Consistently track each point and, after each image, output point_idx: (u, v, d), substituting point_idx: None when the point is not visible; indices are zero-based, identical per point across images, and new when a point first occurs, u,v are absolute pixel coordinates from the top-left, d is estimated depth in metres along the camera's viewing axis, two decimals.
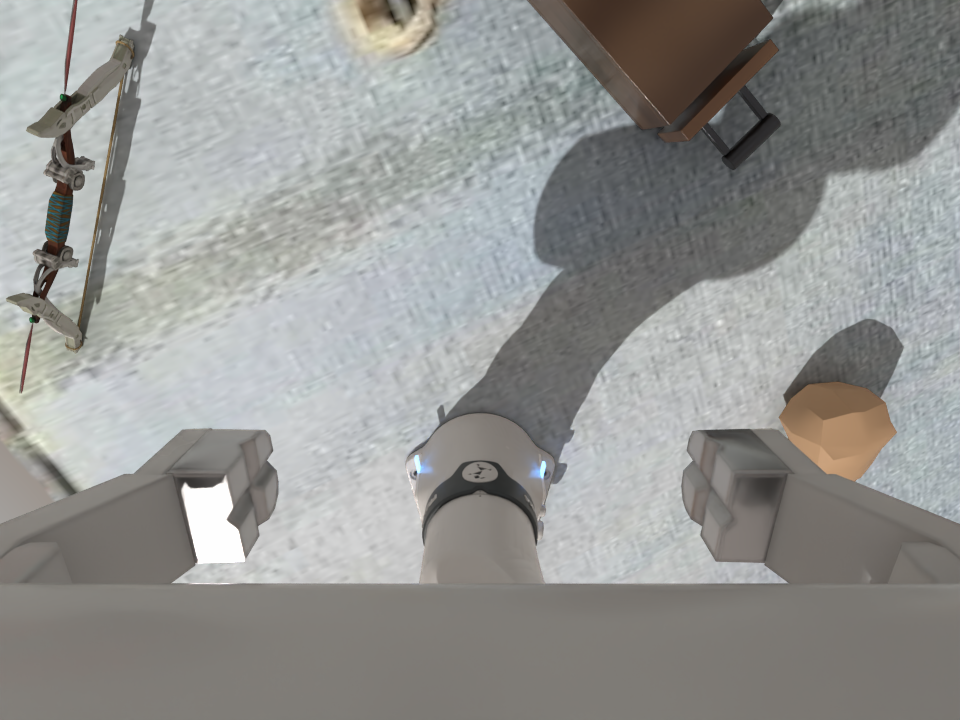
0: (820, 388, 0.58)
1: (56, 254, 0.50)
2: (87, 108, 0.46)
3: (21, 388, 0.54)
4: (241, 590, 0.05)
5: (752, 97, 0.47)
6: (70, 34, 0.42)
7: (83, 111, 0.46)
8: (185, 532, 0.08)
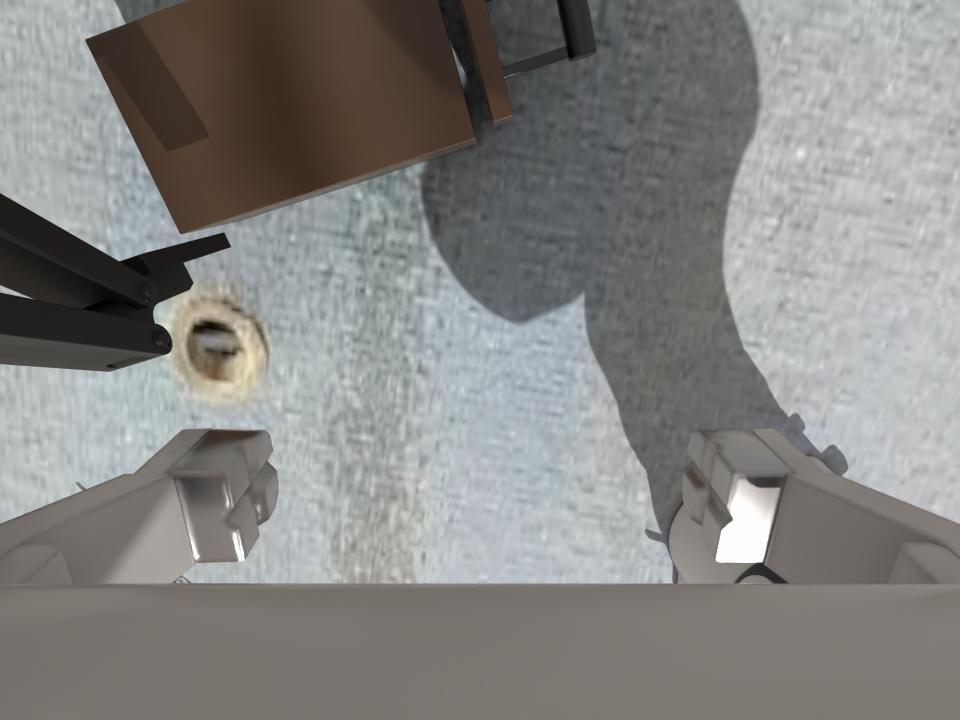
0: None
1: None
2: None
3: None
4: (241, 590, 0.05)
5: None
6: None
7: None
8: (185, 532, 0.08)
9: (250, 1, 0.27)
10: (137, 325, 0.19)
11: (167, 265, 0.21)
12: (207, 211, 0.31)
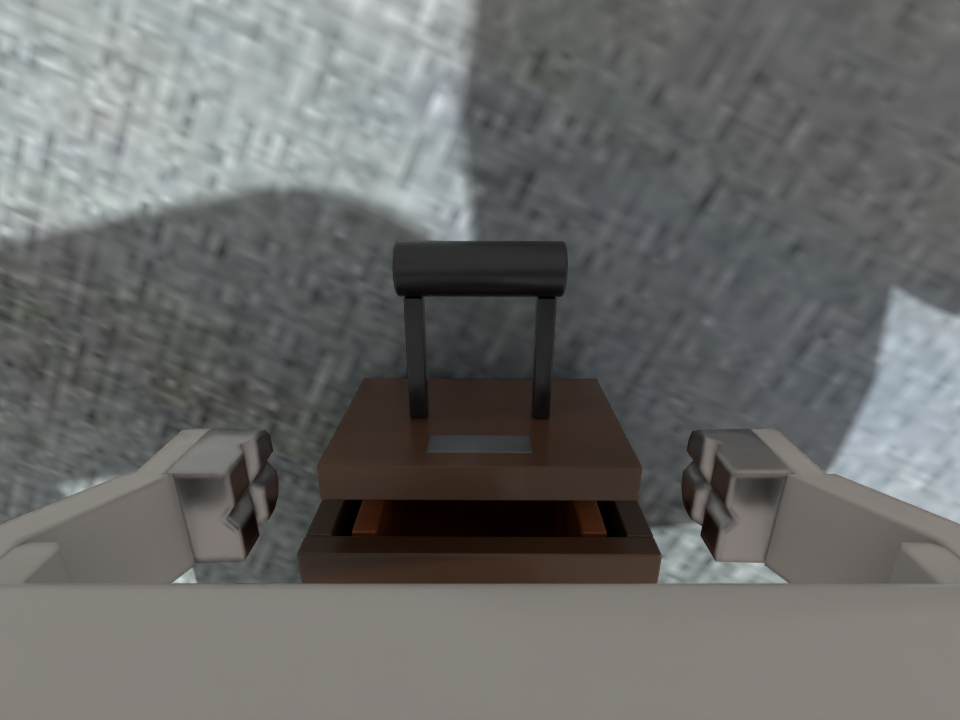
0: None
1: None
2: None
3: None
4: (241, 590, 0.05)
5: (411, 362, 0.17)
6: None
7: None
8: (185, 532, 0.08)
9: None
10: None
11: None
12: None
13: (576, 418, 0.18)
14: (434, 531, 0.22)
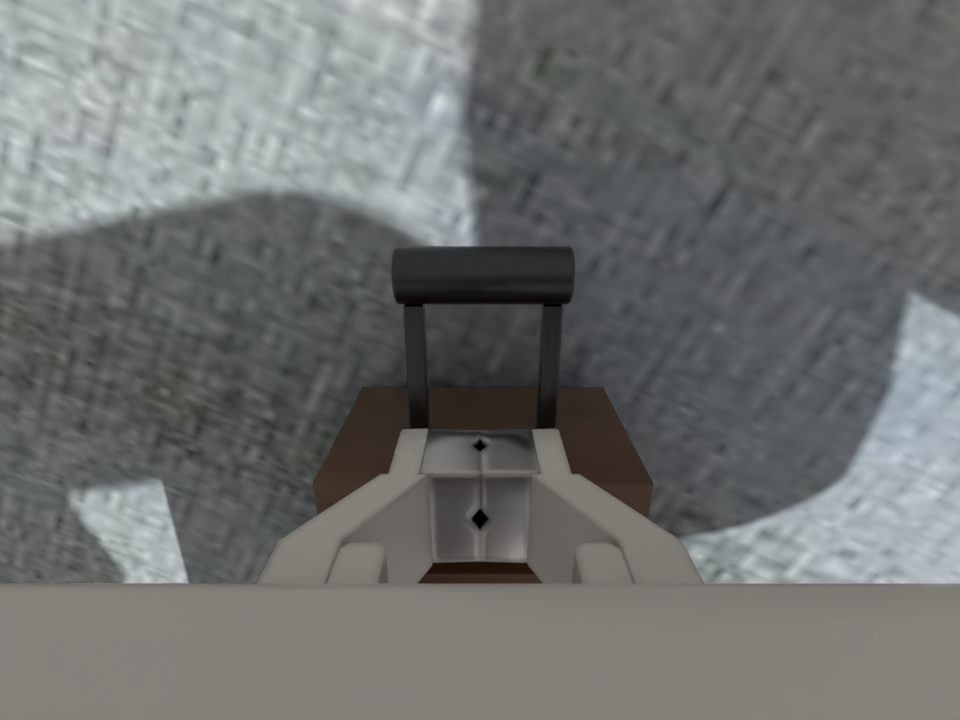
0: None
1: None
2: None
3: None
4: (241, 590, 0.05)
5: (411, 372, 0.16)
6: None
7: None
8: (430, 532, 0.08)
9: None
10: None
11: None
12: None
13: (584, 430, 0.17)
14: None
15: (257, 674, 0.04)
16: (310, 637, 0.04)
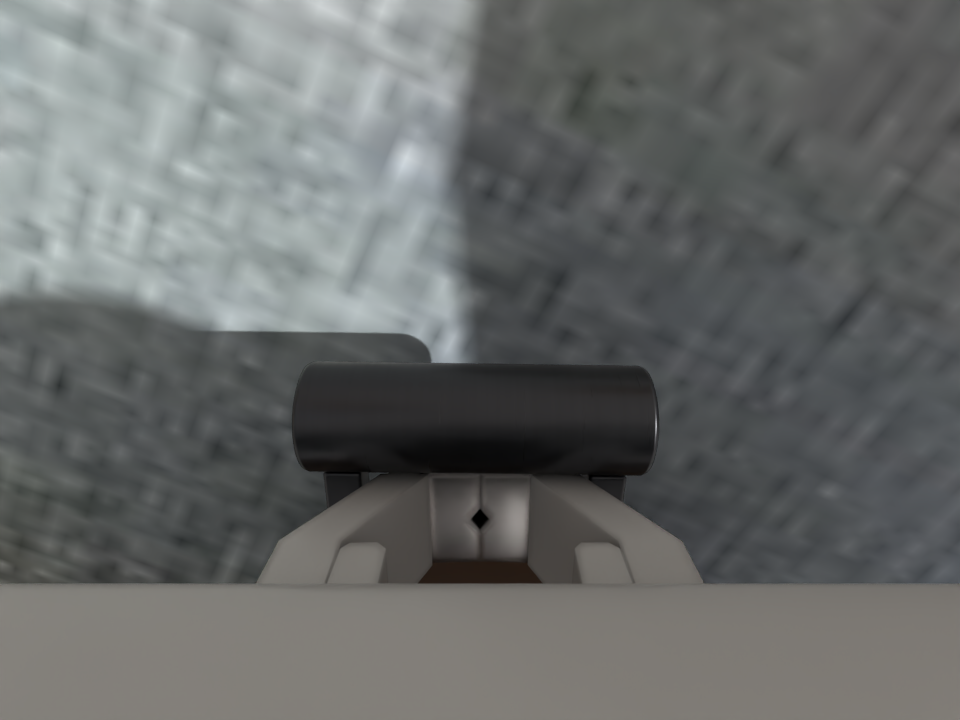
0: None
1: None
2: None
3: None
4: (241, 590, 0.05)
5: None
6: None
7: None
8: (430, 532, 0.08)
9: None
10: None
11: None
12: None
13: None
14: None
15: (257, 674, 0.04)
16: (310, 637, 0.04)
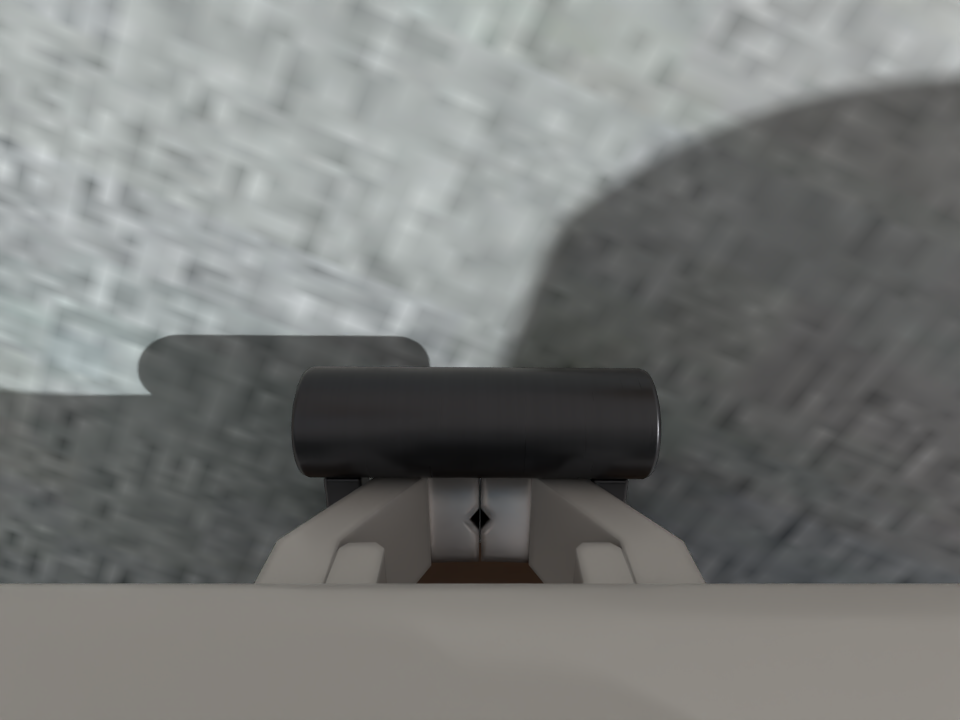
0: None
1: None
2: None
3: None
4: (241, 590, 0.05)
5: None
6: None
7: None
8: (429, 532, 0.08)
9: None
10: None
11: None
12: None
13: None
14: None
15: (257, 674, 0.04)
16: (310, 637, 0.04)
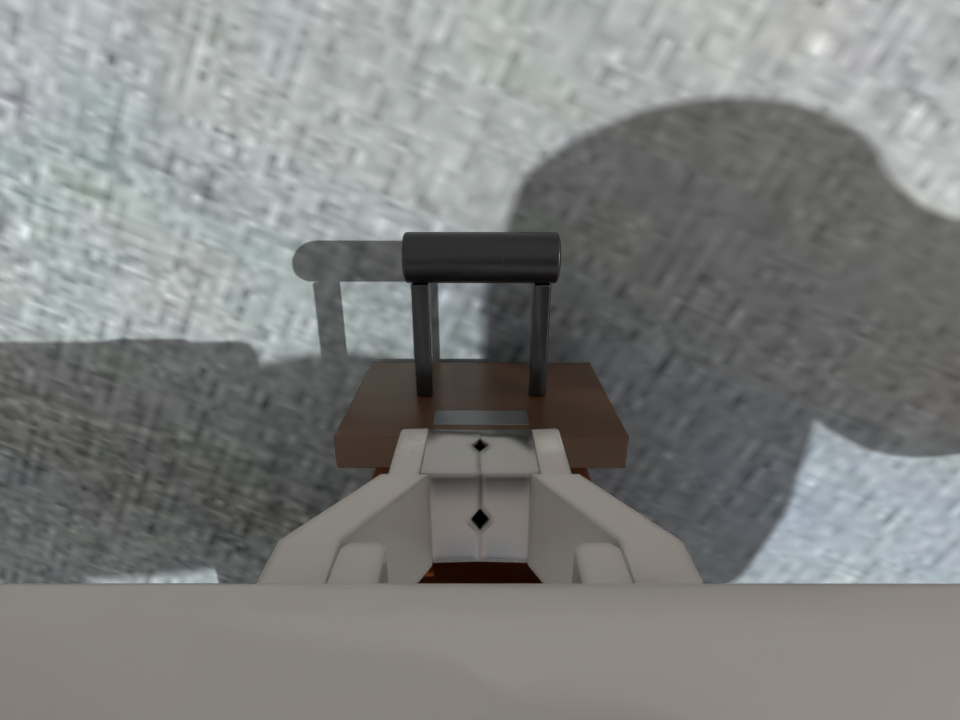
0: None
1: None
2: None
3: None
4: (241, 590, 0.05)
5: (418, 344, 0.18)
6: None
7: None
8: (430, 532, 0.08)
9: None
10: None
11: None
12: None
13: (570, 396, 0.19)
14: None
15: (257, 674, 0.04)
16: (310, 637, 0.04)
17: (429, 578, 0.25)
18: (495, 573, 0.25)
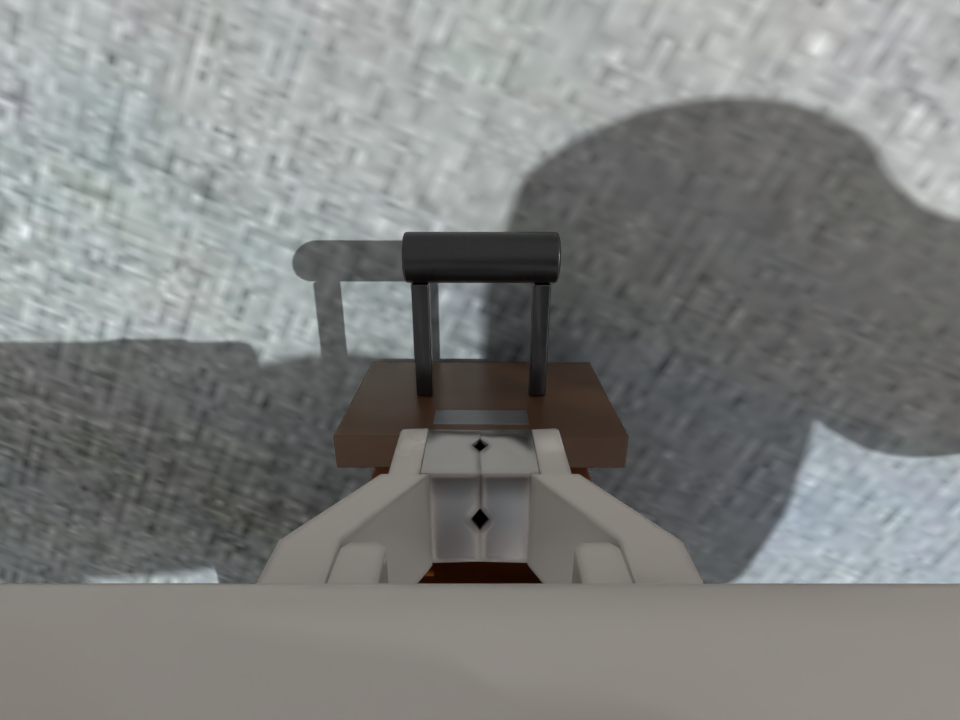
0: None
1: None
2: None
3: None
4: (241, 590, 0.05)
5: (418, 343, 0.18)
6: None
7: None
8: (430, 532, 0.08)
9: None
10: None
11: None
12: None
13: (570, 396, 0.19)
14: None
15: (257, 674, 0.04)
16: (310, 637, 0.04)
17: (429, 578, 0.25)
18: (495, 572, 0.25)
